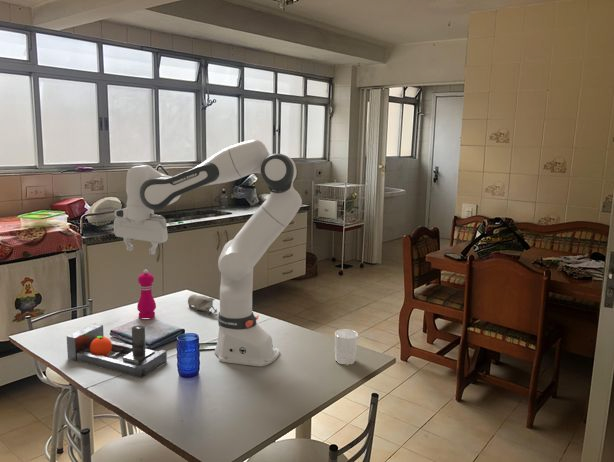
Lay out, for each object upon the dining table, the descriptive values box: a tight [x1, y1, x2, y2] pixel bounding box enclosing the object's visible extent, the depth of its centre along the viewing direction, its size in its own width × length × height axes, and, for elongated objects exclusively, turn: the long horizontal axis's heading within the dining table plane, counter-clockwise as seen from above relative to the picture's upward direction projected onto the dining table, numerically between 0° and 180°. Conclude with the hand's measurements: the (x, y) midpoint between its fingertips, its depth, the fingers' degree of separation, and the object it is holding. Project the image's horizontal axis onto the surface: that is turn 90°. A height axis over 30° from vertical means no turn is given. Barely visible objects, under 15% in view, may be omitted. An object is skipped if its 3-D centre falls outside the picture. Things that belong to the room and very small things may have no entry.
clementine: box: [90, 336, 112, 357], centre depth 168 cm, size 8×7×7 cm
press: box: [66, 323, 168, 379], centre depth 166 cm, size 30×12×8 cm, turn 68°
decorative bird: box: [187, 294, 218, 315], centre depth 214 cm, size 5×16×7 cm, turn 52°
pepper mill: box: [136, 269, 157, 319], centre depth 203 cm, size 7×7×20 cm
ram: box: [122, 324, 156, 365], centre depth 162 cm, size 6×8×13 cm
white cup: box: [334, 328, 359, 365], centre depth 171 cm, size 8×8×10 cm
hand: (141, 252), depth 175 cm, fingers open, 8 cm apart
